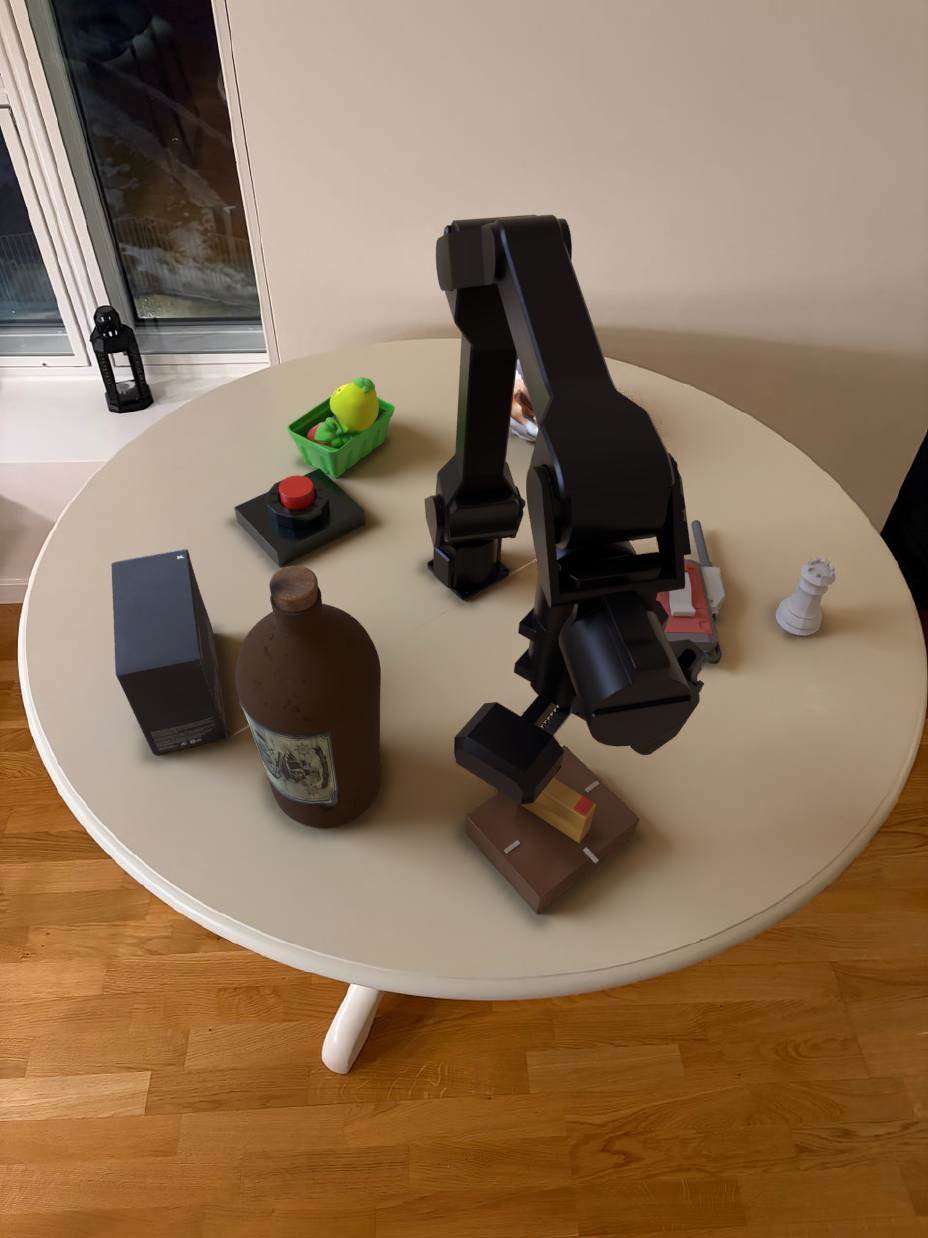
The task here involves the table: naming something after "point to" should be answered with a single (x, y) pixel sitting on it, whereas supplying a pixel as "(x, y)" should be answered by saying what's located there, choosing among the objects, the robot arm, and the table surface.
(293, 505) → the button
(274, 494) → the button block
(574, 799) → the rod knob
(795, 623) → the rook chess piece
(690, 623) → the walkie-talkie
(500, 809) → the panel
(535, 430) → the lucky cat figurine
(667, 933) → the table surface
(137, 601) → the small box
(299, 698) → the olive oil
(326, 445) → the fruit basket
